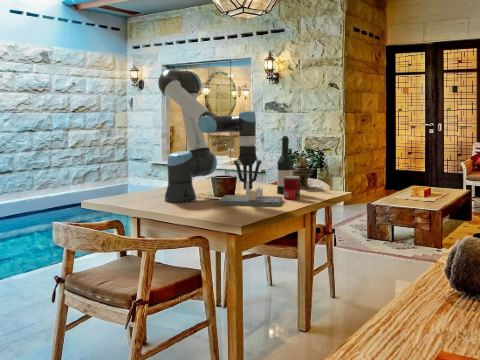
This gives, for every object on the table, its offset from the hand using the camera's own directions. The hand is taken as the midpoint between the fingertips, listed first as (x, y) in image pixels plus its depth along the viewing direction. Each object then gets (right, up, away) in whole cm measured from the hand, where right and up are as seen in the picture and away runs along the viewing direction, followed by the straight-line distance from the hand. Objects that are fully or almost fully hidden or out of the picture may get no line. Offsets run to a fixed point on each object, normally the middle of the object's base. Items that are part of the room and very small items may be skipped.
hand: (248, 196), depth 240 cm
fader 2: (+5, 0, +9) cm, 10 cm away
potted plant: (+31, +3, +53) cm, 61 cm away
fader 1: (+2, -1, 0) cm, 3 cm away
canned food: (+22, -2, +16) cm, 27 cm away
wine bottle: (+20, 0, +34) cm, 39 cm away
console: (+2, -3, +5) cm, 6 cm away
